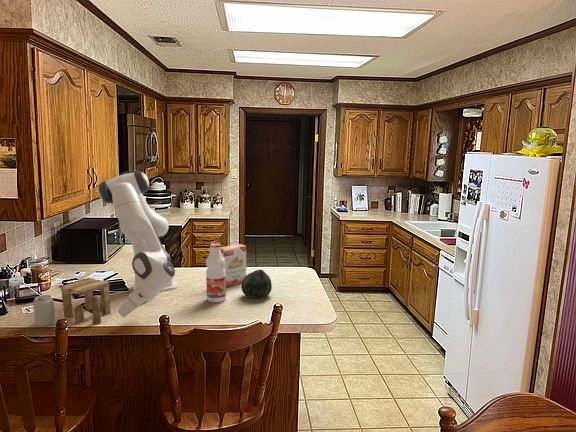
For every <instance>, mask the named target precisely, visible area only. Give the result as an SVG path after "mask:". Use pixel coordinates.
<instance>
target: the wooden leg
mask: <svg viewBox="0 0 576 432" xmlns="http://www.w3.org/2000/svg"><path fill="white" fill-rule="evenodd" d="M91 298H92V310H91V311H92V320H93V322H92V323H93V325H99V324H101V323H102V318H101V317H102V316H104V314H103V307H102V305H101V300H100V295H97V294H95V295H93V296H92V297H91Z"/></svg>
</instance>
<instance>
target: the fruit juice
mask: <svg viewBox="0 0 576 432" xmlns="http://www.w3.org/2000/svg"><path fill="white" fill-rule="evenodd" d="M209 246H210V247H209V248H210V251H209V254H208V256H207V258H206V261H205V264H206V272H205V273H206V274H205V275H206V276H205V277H206V282H205V283H206V300H207V301H208V302H210V303H215V304H216V303H222V302H224V301H225V300H226V299H227V287H226V272H225V268H224V266H225V259H224V257H223V256H222V254H221V251H220V248H221V244H220V243H217V242H216V243H215V242H213V243H210V244H209Z"/></svg>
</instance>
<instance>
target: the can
mask: <svg viewBox="0 0 576 432" xmlns="http://www.w3.org/2000/svg"><path fill="white" fill-rule="evenodd" d="M32 306H33V307H32V309H33V314H34V324H35V325H36V326H37V327H40V328H41V327H42V328H43V327H48V326H49V327H50V326H51V325H53V324H54V323H55V321H56V316H55V305H54V298H53V297H52V295H50V294H43V295H39V296H36V297H35V298H34V300H33V302H32Z"/></svg>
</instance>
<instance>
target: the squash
mask: <svg viewBox="0 0 576 432" xmlns="http://www.w3.org/2000/svg"><path fill="white" fill-rule="evenodd" d="M272 287H273V285H272V279H271V277H270V276H269V275H268V274H267V273H266V272H265V271H264V270H263V269H257V270H254V271H252V272H250V273H248V274H246V276H245V277H244V279H243V281H242V283H241V291H242V293H243V294H244V296H245V297H247V298H252V299H253V298H254V299H255V298H259V299H265V298H266V297H268V296H269V295H270V293H271V292H272Z"/></svg>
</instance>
